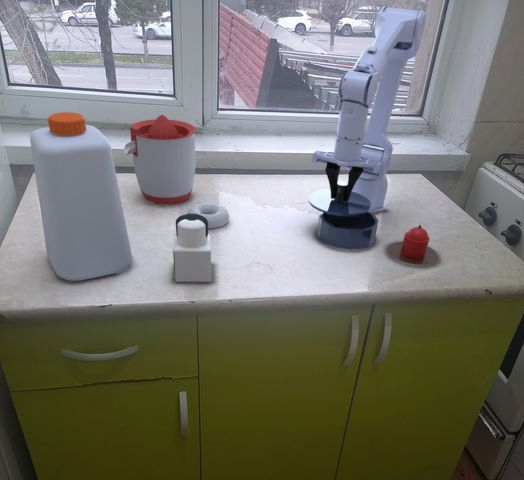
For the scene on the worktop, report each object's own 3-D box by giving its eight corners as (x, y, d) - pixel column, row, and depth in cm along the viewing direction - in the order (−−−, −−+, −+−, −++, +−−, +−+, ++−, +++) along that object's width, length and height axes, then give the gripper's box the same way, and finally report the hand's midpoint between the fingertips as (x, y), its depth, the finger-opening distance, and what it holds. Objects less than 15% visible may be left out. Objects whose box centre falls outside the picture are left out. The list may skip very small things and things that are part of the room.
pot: (350, 221, 128) (353, 202, 125) (385, 244, 119) (390, 224, 116) (305, 231, 122) (308, 211, 119) (340, 256, 113) (343, 235, 110)
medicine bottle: (176, 264, 106) (173, 209, 99) (211, 264, 107) (210, 210, 99) (174, 282, 101) (171, 225, 93) (211, 282, 101) (210, 226, 94)
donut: (181, 229, 119) (223, 234, 118) (180, 215, 117) (222, 220, 116) (194, 211, 127) (233, 216, 126) (193, 198, 125) (233, 203, 123)
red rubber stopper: (413, 245, 118) (420, 217, 114) (430, 255, 115) (438, 227, 111) (395, 249, 116) (402, 222, 112) (412, 260, 113) (420, 232, 108)
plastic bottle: (44, 252, 107) (11, 108, 89) (116, 239, 113) (98, 102, 95) (61, 287, 97) (26, 133, 79) (138, 271, 103) (123, 125, 85)
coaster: (412, 239, 122) (413, 237, 121) (447, 260, 115) (447, 258, 114) (377, 248, 117) (378, 246, 117) (411, 270, 110) (411, 268, 110)
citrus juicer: (124, 188, 135) (114, 107, 122) (188, 183, 141) (185, 104, 128) (135, 213, 124) (126, 126, 111) (204, 206, 130) (203, 122, 117)
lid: (344, 189, 124) (348, 168, 121) (382, 212, 115) (387, 190, 112) (295, 198, 118) (298, 176, 115) (332, 223, 109) (335, 200, 106)
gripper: (311, 135, 106) (304, 198, 114) (381, 147, 103) (368, 211, 111) (320, 126, 111) (312, 187, 120) (386, 137, 108) (374, 199, 116)
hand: (339, 198), depth 116 cm, fingers closed on lid, 2 cm apart
